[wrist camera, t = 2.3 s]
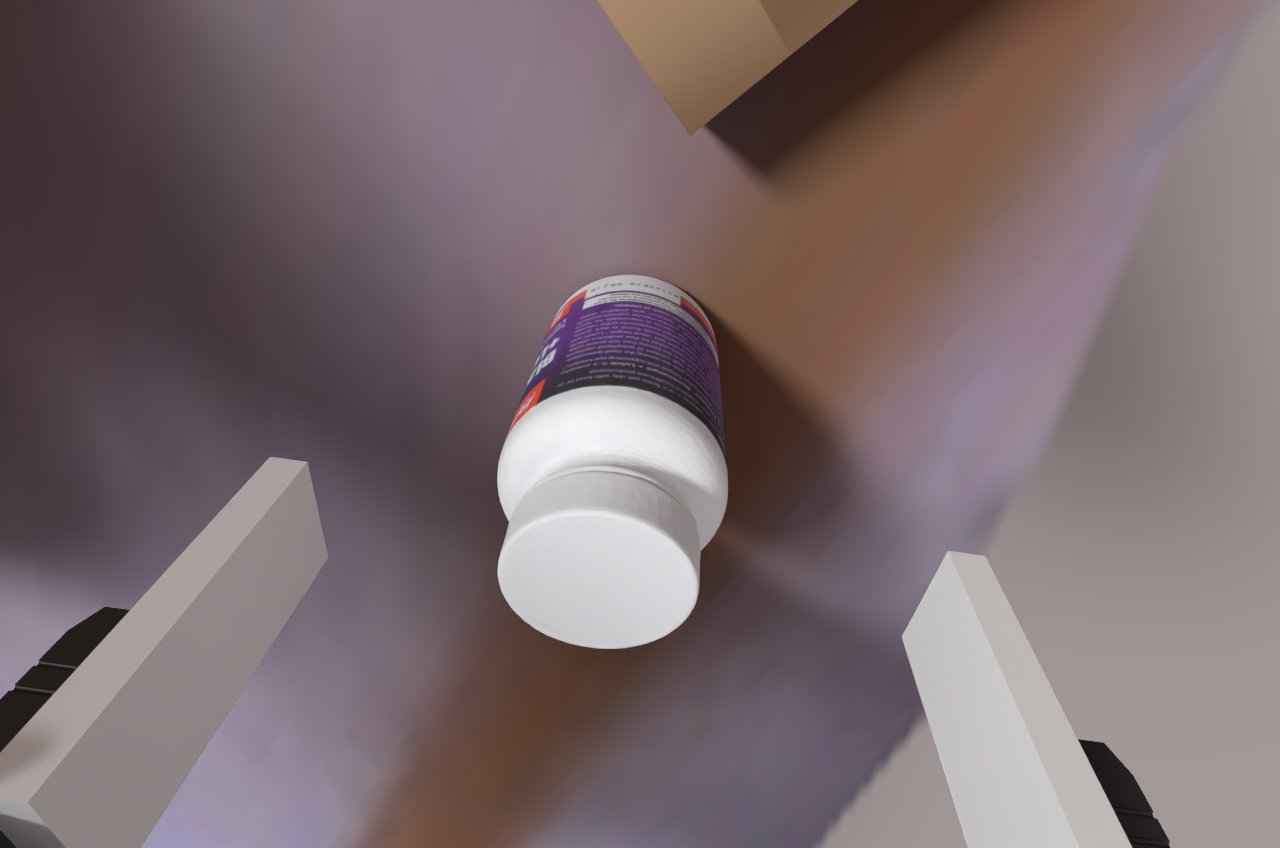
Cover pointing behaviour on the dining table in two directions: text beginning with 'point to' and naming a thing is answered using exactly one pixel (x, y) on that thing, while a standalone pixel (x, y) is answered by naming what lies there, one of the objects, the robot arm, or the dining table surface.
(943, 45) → the dining table surface
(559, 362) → the pill bottle
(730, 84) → the brown square frame
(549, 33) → the dining table surface
